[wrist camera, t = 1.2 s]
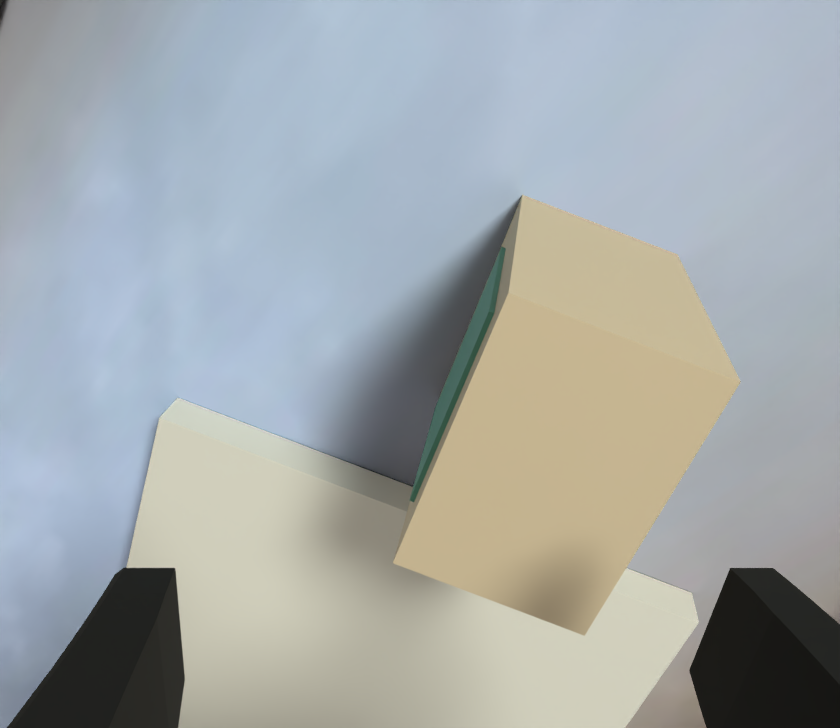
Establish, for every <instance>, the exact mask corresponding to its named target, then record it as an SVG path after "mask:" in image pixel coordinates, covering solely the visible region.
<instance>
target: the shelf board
mask: <svg viewBox="0 0 840 728" xmlns="http://www.w3.org/2000/svg"><path fill="white" fill-rule="evenodd" d="M412 489H413V487H411V486H409V485H406V484H404V483H401V482H398V481H396V480H393V479H390V478H388V477H385V476H382V475H380V474H377V473H375V472H372V471H369V470H367V469H364V468H361V467H359V466H356V465H354V464H351V463H348V462H346V461H343V460H340V459H338V458H335V457H332V456H330V455H327V454H325V453H322V452H319V451H317V450H314V449H311V448H309V447H306V446H304V445H301V444H298V443H296V442H293V441H290V440H288V439H285V438H283V437H280V436H277V435H275V434H272V433H269V432H267V431H264V430H261V429H259V428H256V427H254V426H251V425H248V424H246V423H243V422H240V421H238V420H235V419H233V418H230V417H227V416H225V415H222V414H219V413H217V412H214V411H211V410H209V409H206V408H204V407H201V406H198V405H196V404H193V403H190V402H188V401H185V400H183V399H180V398H177V399H176V400H175V401H174V403H173V404H172V405H171V406H170V407H169V408H168V409H167V410H166V411H165V412H164V413H163V414H162V415H161V416H160V418H159V422H158V426H157V431H156V435H155V440H154V444H153V449H152V454H151V458H150V463H149V467H148V472H147V476H146V481H145V485H144V490H143V495H142V499H141V504H140V508H139V513H138V517H137V522H136V526H135V531H134V536H133V540H132V545H131V549H130V554H129V558H128V563H127V567H126V568H175V570H176V582H177V593H178V605H179V617H180V628H181V640H182V651H183V663H184V674H185V682H184V689H183V696H182V703H181V710H180V718H179V725H178V728H625V727H626V726H627V724H628V723H629V721H630V720H631V719H632V717H633V716H634V714H635V713H636V711H637V710H638V709H639V707H640V706H641V704H642V703H643V701H644V700H645V699H646V697H647V696H648V694H649V693H650V691H651V690H652V689H653V687H654V686H655V684H656V683H657V681H658V680H659V679H660V677H661V676H662V674H663V673H664V671H665V670H666V669H667V667H668V666H669V664H670V663H671V661H672V660H673V659H674V657H675V656H676V654H677V653H678V651H679V650H680V649H681V647H682V646H683V644H684V643H685V642H686V640H687V639H688V637H689V636H690V634H691V633H692V632H693V630H694V629H695V627H696V626H697V624H698V623H699V621H698V617H697V613H696V608H695V604H694V600H693V596H692V593H690V592H688V591H685V590H682V589H680V588H677V587H674V586H672V585H669V584H667V583H664V582H661V581H659V580H656V579H653V578H651V577H648V576H645V575H643V574H640V573H638V572H635V571H632V570H630V569H627V568H626V569H625V571H624V572H623V574H622V576H621V577H620V579H619V581H618V582H617V584H616V585H615V587H614V589H613V590H612V592H611V594H610V595H609V597H608V599H607V600H606V602H605V603H604V605H603V607H602V608H601V610H600V612H599V613H598V615H597V616H596V618H595V620H594V621H593V623H592V625H591V626H590V628H589V629H588V631H587V633H586V634H585V636H584V635H581V634H578V633H576V632H573V631H571V630H568V629H565V628H563V627H560V626H557V625H555V624H552V623H549V622H547V621H544V620H541V619H539V618H536V617H534V616H531V615H528V614H526V613H523V612H520V611H518V610H515V609H512V608H510V607H507V606H505V605H502V604H499V603H497V602H494V601H491V600H489V599H486V598H483V597H481V596H478V595H476V594H473V593H470V592H468V591H465V590H462V589H460V588H457V587H454V586H452V585H449V584H446V583H444V582H441V581H439V580H436V579H433V578H431V577H428V576H425V575H423V574H420V573H417V572H415V571H412V570H410V569H407V568H404V567H402V566H399V565H396V564H394V563H393V560H394V557H395V553H396V550H397V546H398V543H399V539H400V535H401V532H402V528H403V525H404V521H405V517H406V514H407V510H408V507H409V503H410V501H409V500H410V496H411V493H412Z"/></svg>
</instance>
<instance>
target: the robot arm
mask: <svg viewBox="0 0 840 728" xmlns="http://www.w3.org/2000/svg"><path fill="white" fill-rule="evenodd" d="M689 671H690V674H691V677H692V681H693V684H694V688H695V691H696V695H697V698H698V701H699V705H700V708H701V712H702V715H703V718H704V721H705V724H706V727H707V728H840V624H838V623H837V622H836V621H835V620H834V619H833V618H832V617H830V616H829V615H828V614H827V613H826V612H825V611H824V610H822V609H821V608H820V607H819V606H818V605H817V604H815V603H814V602H813V601H812V600H811V599H810V598H808V597H807V596H806V595H805V594H804V593H803V592H801V591H800V590H799V589H798V588H797V587H796V586H794V585H793V584H792V583H791V582H790V581H788V580H787V579H786V578H785V577H783V576H782V575H781V574H780V573H778V572H777V571H776V570H775V569H773V568H730V570H729V573H728V575H727V578H726V580H725V583H724V585H723V588H722V590H721V593H720V595H719V598H718V600H717V603H716V605H715V608H714V610H713V613H712V615H711V618H710V620H709V623H708V625H707V628H706V630H705V633H704V635H703V638H702V640H701V643H700V645H699V648H698V650H697V653H696V655H695V658H694V660H693V663H692V665H691V668H690V670H689ZM184 682H185V674H184V663H183V651H182V640H181V628H180V617H179V605H178V593H177V582H176V570H175V568H123V569H122V570H120V571H119V572H118V573H117V574H115V575H114V577H113V579H112V580H111V582H110V583H109V585H108V587H107V588H106V590H105V591H104V593H103V595H102V596H101V598H100V599H99V601H98V602H97V604H96V605H95V607H94V608H93V610H92V611H91V613H90V614H89V616H88V617H87V619H86V620H85V622H84V623H83V625H82V626H81V628H80V629H79V631H78V632H77V634H76V635H75V636H74V638H73V639H72V641H71V642H70V644H69V645H68V646H67V648H66V649H65V651H64V652H63V653H62V655H61V656H60V658H59V659H58V660H57V662H56V663H55V665H54V666H53V667H52V669H51V670H50V672H49V673H48V674H47V676H46V677H45V678H44V679H43V681H42V682H41V683H40V685H39V686H38V687H37V689H36V690H35V691H34V693H33V694H32V695H31V697H30V698H29V699H28V701H27V702H26V703H25V705H24V706H23V707H22V709H21V710H20V711H19V713H18V714H17V715H16V717H15V718H14V719H13V721H12V722H11V723H10V724H9V726H8V727H7V728H178V725H179V718H180V710H181V703H182V696H183V689H184Z"/></svg>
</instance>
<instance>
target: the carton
mask: <svg viewBox="0 0 840 728" xmlns="http://www.w3.org/2000/svg"><path fill="white" fill-rule="evenodd" d="M739 384H740V380H739V378H738V376H737V374H736V372H735V370H734V368H733V366H732V363H731V361H730V359H729V357H728V355H727V353H726V351H725V349H724V347H723V345H722V343H721V341H720V339H719V337H718V335H717V333H716V331H715V329H714V327H713V325H712V323H711V321H710V319H709V317H708V315H707V313H706V311H705V309H704V307H703V305H702V303H701V301H700V299H699V297H698V295H697V293H696V291H695V289H694V287H693V285H692V283H691V281H690V279H689V277H688V275H687V273H686V271H685V269H684V267H683V265H682V263H681V261H680V259H679V257H678V255H677V254H675V253H672V252H670V251H667V250H664V249H662V248H659V247H657V246H654V245H651V244H649V243H646V242H644V241H641V240H638V239H636V238H633V237H631V236H628V235H625V234H623V233H620V232H618V231H615V230H612V229H610V228H607V227H605V226H602V225H599V224H597V223H594V222H592V221H589V220H587V219H584V218H581V217H579V216H576V215H574V214H571V213H568V212H566V211H563V210H561V209H558V208H555V207H553V206H550V205H548V204H545V203H542V202H540V201H537V200H535V199H532V198H529V197H527V196H524V195H522V197H521V199H520V202H519V204H518V207H517V209H516V212H515V214H514V216H513V219H512V221H511V224H510V226H509V229H508V231H507V233H506V236H505V238H504V241H503V243H502V246H501V248H500V251H499V253H498V255H497V258H496V260H495V263H494V265H493V268H492V270H491V272H490V275H489V277H488V280H487V282H486V285H485V287H484V289H483V292H482V294H481V297H480V299H479V302H478V304H477V306H476V309H475V311H474V314H473V316H472V319H471V321H470V323H469V326H468V328H467V331H466V333H465V336H464V338H463V341H462V343H461V345H460V348H459V350H458V353H457V355H456V358H455V360H454V362H453V365H452V367H451V370H450V372H449V375H448V377H447V379H446V382H445V384H444V387H443V389H442V392H441V394H440V396H439V399H438V402H437V405H436V407H435V411H434V414H433V418H432V422H431V425H430V429H429V432H428V436H427V439H426V443H425V447H424V450H423V454H422V457H421V461H420V464H419V468H418V472H417V475H416V479H415V482H414V486H413V489H412V493H411V496H410V500H409V501H410V503H409V507H408V510H407V514H406V517H405V521H404V525H403V528H402V532H401V535H400V539H399V543H398V546H397V550H396V553H395V557H394V560H393V563H394V564H396V565H399V566H402V567H404V568H407V569H410V570H412V571H415V572H417V573H420V574H423V575H425V576H428V577H431V578H433V579H436V580H439V581H441V582H444V583H446V584H449V585H452V586H454V587H457V588H460V589H462V590H465V591H468V592H470V593H473V594H476V595H478V596H481V597H483V598H486V599H489V600H491V601H494V602H497V603H499V604H502V605H505V606H507V607H510V608H512V609H515V610H518V611H520V612H523V613H526V614H528V615H531V616H534V617H536V618H539V619H541V620H544V621H547V622H549V623H552V624H555V625H557V626H560V627H563V628H565V629H568V630H571V631H573V632H576V633H578V634H581V635H584V636H585V634H586V633H587V631H588V629H589V628H590V626H591V625H592V623H593V621H594V620H595V618H596V616H597V615H598V613H599V612H600V610H601V608H602V607H603V605H604V603H605V602H606V600H607V599H608V597H609V595H610V594H611V592H612V590H613V589H614V587H615V585H616V584H617V582H618V581H619V579H620V577H621V576H622V574H623V572H624V571H625V569H626V568H627V566H628V564H629V563H630V561H631V559H632V558H633V556H634V555H635V553H636V551H637V550H638V548H639V546H640V545H641V543H642V542H643V540H644V538H645V537H646V535H647V533H648V532H649V530H650V529H651V527H652V525H653V524H654V522H655V520H656V519H657V517H658V516H659V514H660V512H661V511H662V509H663V507H664V506H665V504H666V503H667V501H668V499H669V498H670V496H671V494H672V493H673V491H674V489H675V488H676V486H677V485H678V483H679V481H680V480H681V478H682V476H683V475H684V473H685V472H686V470H687V468H688V467H689V465H690V463H691V462H692V460H693V459H694V457H695V455H696V454H697V452H698V450H699V449H700V447H701V446H702V444H703V442H704V441H705V439H706V437H707V436H708V434H709V433H710V431H711V429H712V428H713V426H714V424H715V423H716V421H717V420H718V418H719V416H720V415H721V413H722V411H723V410H724V408H725V407H726V405H727V403H728V402H729V400H730V398H731V397H732V395H733V393H734V392H735V390H736V389H737V387H738V385H739Z"/></svg>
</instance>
